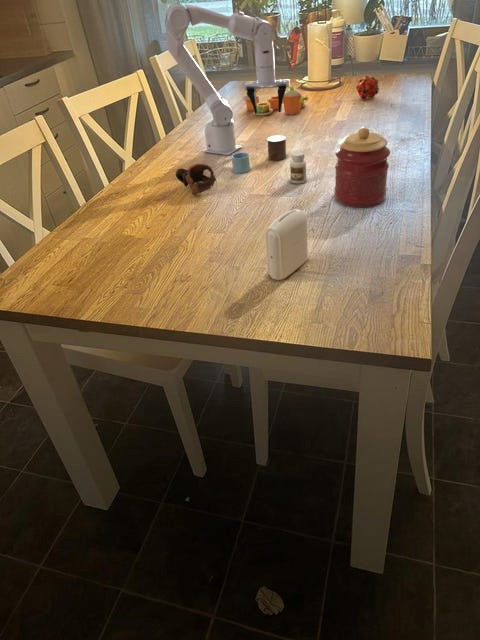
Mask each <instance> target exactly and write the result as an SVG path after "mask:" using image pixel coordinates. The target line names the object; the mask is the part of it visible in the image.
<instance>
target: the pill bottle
mask: <svg viewBox="0 0 480 640" xmlns="http://www.w3.org/2000/svg"><path fill="white" fill-rule="evenodd" d="M289 169H290V171H289V172H290V173H289V175H290V182H291V183H293V184H302V183H305V182H307V162H306V160H305V152H304V151H293V152H292V153H291V161H290V163H289Z"/></svg>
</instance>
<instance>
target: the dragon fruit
mask: <svg viewBox="0 0 480 640" xmlns="http://www.w3.org/2000/svg"><path fill="white" fill-rule="evenodd" d="M355 88H356V91H357V94H358V96H359V97H360V99H361V100H367V98H369V99H370V98H371V99H373V98H374V97H375V96H376V95H377V94H378V93H379V90H380V88H379V79H377V78H375V77H374V76H368V75H365V76H364V78H360V79H359V81H358V83H357V85H356V87H355Z"/></svg>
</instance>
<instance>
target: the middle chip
mask: <svg viewBox="0 0 480 640" xmlns="http://www.w3.org/2000/svg"><path fill="white" fill-rule="evenodd" d="M284 152H286V153H287V144H286V145H285V146H283V147H280V148H271V147H268V146H267V154H268V153H270V154H282V153H284Z"/></svg>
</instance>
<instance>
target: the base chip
mask: <svg viewBox="0 0 480 640" xmlns="http://www.w3.org/2000/svg"><path fill="white" fill-rule="evenodd" d="M267 158H268V160H269V161H273V162H276V161H277V162H278V161H279V162H280V161H283V160H285V159H286V158H287V151H286V152H284V153H282V154H270V153H268V152H267Z"/></svg>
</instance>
